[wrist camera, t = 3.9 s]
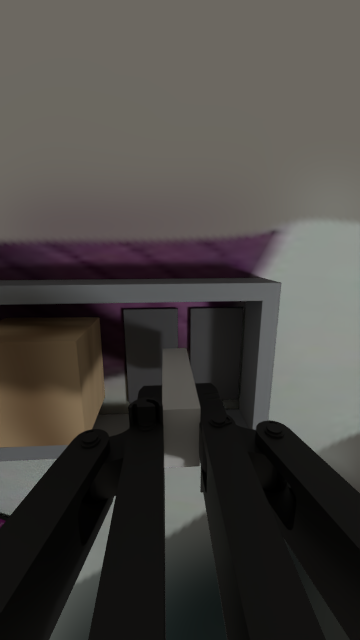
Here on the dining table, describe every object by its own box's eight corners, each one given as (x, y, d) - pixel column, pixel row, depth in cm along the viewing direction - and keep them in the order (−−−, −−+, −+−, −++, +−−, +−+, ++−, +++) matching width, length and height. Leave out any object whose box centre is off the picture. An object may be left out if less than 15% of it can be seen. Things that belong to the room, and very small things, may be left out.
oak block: (20, 397, 19) (-29, 448, 14) (7, 317, 17) (-53, 342, 12) (105, 395, 19) (85, 444, 14) (99, 316, 18) (76, 341, 13)
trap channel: (-134, 436, 18) (-189, 470, 16) (-189, 282, 16) (-269, 288, 13) (250, 420, 20) (265, 447, 17) (261, 277, 17) (281, 282, 14)
